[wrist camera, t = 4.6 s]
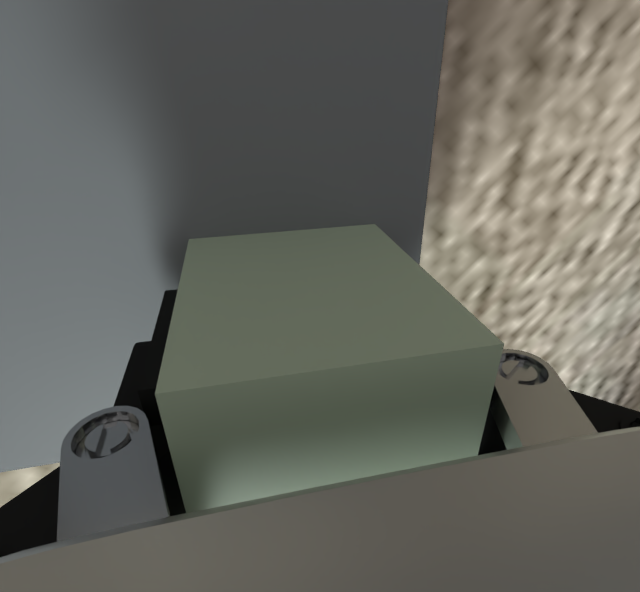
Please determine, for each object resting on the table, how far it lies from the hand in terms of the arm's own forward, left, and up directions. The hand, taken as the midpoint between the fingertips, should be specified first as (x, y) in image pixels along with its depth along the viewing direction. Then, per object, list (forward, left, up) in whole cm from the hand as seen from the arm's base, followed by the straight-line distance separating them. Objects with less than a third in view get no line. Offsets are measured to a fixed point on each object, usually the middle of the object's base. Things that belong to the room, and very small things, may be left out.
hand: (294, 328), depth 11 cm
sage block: (0, 0, -1) cm, 1 cm away
